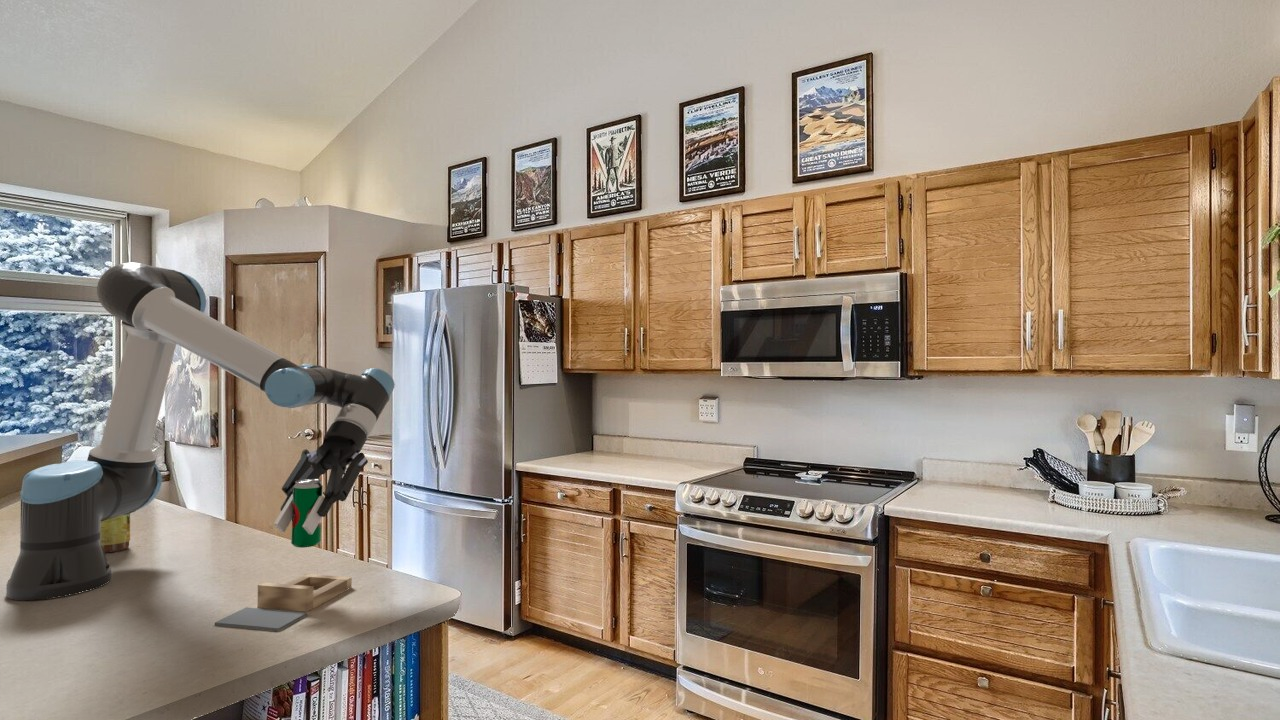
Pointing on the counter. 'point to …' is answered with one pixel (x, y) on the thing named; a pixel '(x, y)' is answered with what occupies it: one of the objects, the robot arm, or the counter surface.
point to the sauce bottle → (115, 533)
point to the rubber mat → (261, 619)
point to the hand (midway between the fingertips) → (293, 529)
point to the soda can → (305, 512)
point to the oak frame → (301, 592)
